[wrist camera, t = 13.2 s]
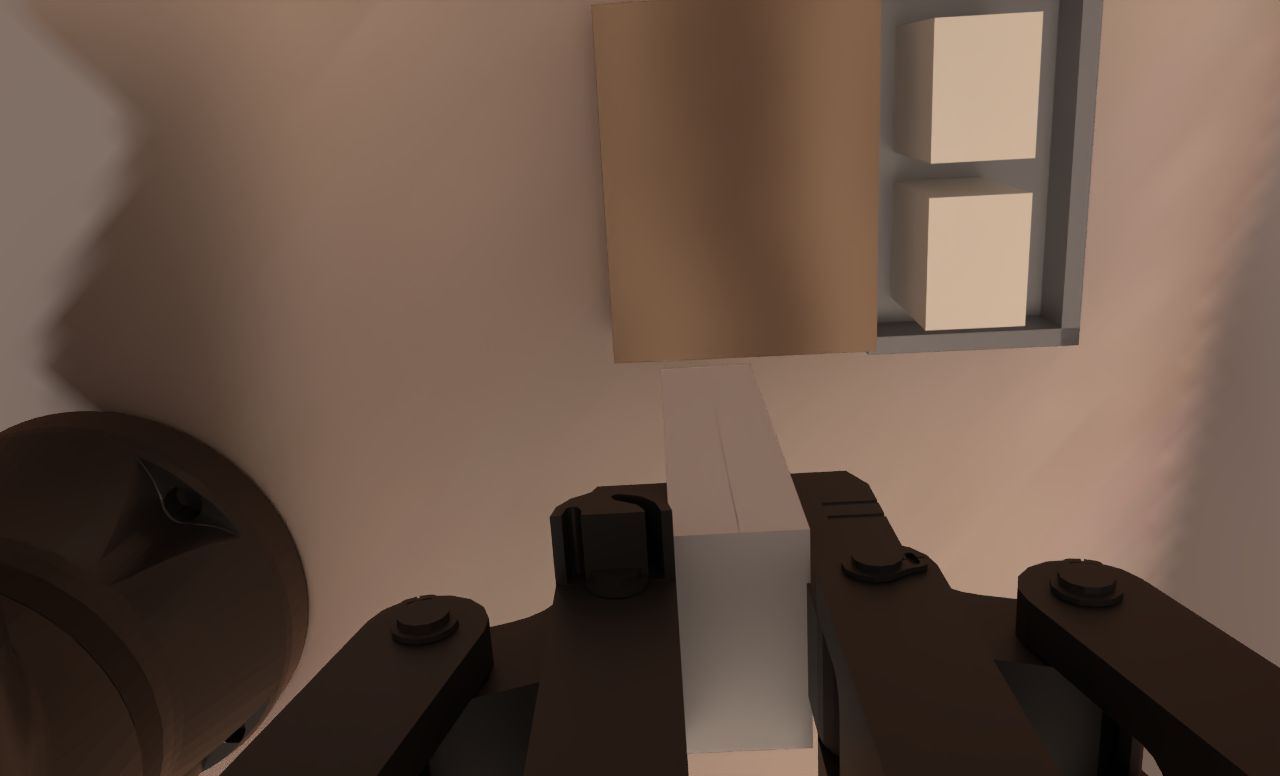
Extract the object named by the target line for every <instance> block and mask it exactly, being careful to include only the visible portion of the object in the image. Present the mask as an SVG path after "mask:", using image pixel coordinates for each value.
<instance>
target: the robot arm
mask: <svg viewBox="0 0 1280 776" xmlns="http://www.w3.org/2000/svg"><path fill="white" fill-rule="evenodd" d="M661 373H662V394H663V414H664V435H665V455H666V476H667V483H658V484H639V485H620V486H601V487H597V488H596V489H594V490H593V491H592V492H591V493H588V494H585V495H581V496H578V497H575V498H571V499H569V500H568V501H566V502H564V503H563V504H561V505H559V506H557V507H556V508H555V510H554V511H553V513H552V514H551V516H550V524H551V535H552V546H553V557H554V567H555V578H556V590H555V595H554V601H553V605H552V606H550V607H549V608H547V609H546V610H544V611H542V612H540V613H537V614H535V615H533V616H531V617H528V618H525V619H521V620H518V621H514V622H511V623H506V624H502V625H497V626H493V627H490V625H489V618H488V615H487V613H486V611H485V609H484V607H483V606H481V605H479V604H478V603H476V602H474V601H473V600H471V599H467V598H461V597H456V596H436V595H425V596H420V598H417V597H414V598H410V599H406V600H404V601H402V602H401V603H399V604H397V605H394V606H392V607H389V608H387V609H385V610H383V611H381V612H380V613H378V614H377V615H376V616H374V617H373V618H372V619H370V620H369V621H368V622H367V623H366V624H365V625H364V626H363V627H362V628H361V629H360V630H359V631H358V632H357V633H356V634H355V635H354V636H353V637H352V638H351V639H350V640H349V641H348V642H347V643H346V644H345V645H344V646H343V648H342V649H341V650H340V651H339V652H338V653H337V654H336V655H335V656H334V657H333V658H332V659H331V660H330V661H329V662H328V663H327V664H326V665H325V666H324V667H323V668H322V669H321V670H320V671H319V672H318V673H317V675H316V676H315V677H314V678H313V679H312V680H311V681H310V682H309V683H308V684H307V685H306V686H305V687H304V688H303V689H302V690H301V691H300V692H299V693H298V694H297V695H296V696H295V697H294V698H293V699H292V701H291V702H290V703H289V704H288V705H287V706H286V707H285V708H284V709H283V710H282V711H281V712H280V713H279V714H278V715H277V716H276V717H275V718H274V719H273V720H272V721H271V722H270V723H269V724H268V725H267V727H266V728H265V729H264V730H263V731H262V732H261V733H260V734H259V735H258V736H257V737H256V738H255V739H254V740H253V741H252V742H251V743H250V744H249V745H248V746H247V747H246V748H245V749H244V750H243V751H242V752H241V754H240V755H239V756H238V757H237V758H236V759H235V760H234V761H233V762H232V763H231V764H230V765H229V766H228V767H227V768H226V769H225V770H224V771H223V772H222V773H221V774H220V775H219V776H688V760H687V754H691V753H712V752H733V751H755V750H776V749H798V748H813V728H812V713H813V717H814V721H815V724H816V728H817V732H818V776H1148V775H1147V774H1146V773H1145V772H1143V771H1142V759H1143V749H1144V747H1145V748H1146V749H1147V750H1148V752H1149V753H1150V754H1151V755H1152V756H1153V757H1154V759H1155V761H1156V763H1157V765H1158V766H1159V769H1160V770H1161V772H1162V775H1163V776H1280V668H1279V667H1278V666H1276V665H1275V664H1273V663H1271V662H1270V661H1268V660H1267V659H1265V658H1264V657H1262V656H1261V655H1259V654H1257V653H1256V652H1254V651H1253V650H1251V649H1250V648H1248V647H1247V646H1245V645H1244V644H1242V643H1240V642H1239V641H1237V640H1236V639H1234V638H1233V637H1231V636H1229V635H1228V634H1226V633H1225V632H1223V631H1222V630H1220V629H1219V628H1217V627H1216V626H1214V625H1213V624H1211V623H1209V622H1208V621H1206V620H1205V619H1203V618H1202V617H1200V616H1199V615H1196V614H1195V613H1194V612H1192V611H1191V610H1189V609H1188V608H1186V607H1185V606H1183V605H1181V604H1180V603H1178V602H1177V601H1175V600H1174V599H1172V598H1171V597H1169V596H1168V595H1166V594H1165V593H1163V592H1161V591H1160V590H1158V589H1157V588H1155V587H1154V586H1152V585H1151V584H1149V583H1148V582H1146V581H1144V580H1143V579H1141V578H1139V577H1137V576H1135V575H1133V574H1131V573H1129V572H1126V571H1124V570H1122V569H1119V568H1115V567H1111V566H1108V565H1104V564H1102V563H1101V562H1098V561H1093V560H1086V559H1084V561H1081V559H1065V560H1062V561H1048V562H1044V563H1041V564H1038V565H1034V566H1031V567H1028V568H1027V569H1026V570H1025V571H1024V572H1023V573H1022V574H1020V575H1019V576H1018V592H1017V599H1011V598H1002V597H993V596H984V595H977V594H971V593H966V592H961V591H957V590H954V589H951V587H950V586H949V584H948V582H947V581H946V579H945V577H944V575H943V574H942V572H941V570H940V569H939V567H938V565H937V564H936V563H935V562H933V561H932V560H931V559H930V558H929V557H928V556H927V555H925V554H923V553H921V552H919V551H916V550H914V549H912V548H910V547H905V546H902V545H901V543H900V541H899V540H898V538H897V536H896V534H895V532H894V530H893V529H892V527H891V525H890V523H889V521H888V519H887V518H886V516H885V517H884V512H883V510H882V508H881V507H880V505H879V503H877V499H876V497H875V496H874V494H873V492H872V490H871V488H870V486H869V485H868V484H867V483H866V482H864V481H862V480H861V479H859V478H857V477H856V476H854V475H852V474H850V473H849V472H847V471H832V472H813V473H795V474H790V472H789V470H788V467H787V464H786V461H785V459H784V456H783V453H782V450H781V448H780V445H779V442H778V439H777V436H776V434H775V431H774V428H773V425H772V423H771V420H770V417H769V414H768V412H767V409H766V406H765V403H764V400H763V398H762V395H761V392H760V389H759V387H758V384H757V381H756V378H755V376H754V373H753V370H752V367H751V365H750V364H739V365H721V366H703V367H685V368H667V369H661ZM307 624H308V597H307V589H306V583H305V578H304V573H303V569H302V566H301V562H300V559H299V556H298V554H297V551H296V548H295V546H294V544H293V541H292V539H291V537H290V535H289V533H288V531H287V529H286V527H285V526H284V524H283V522H282V520H281V519H280V517H279V516H278V514H277V513H276V511H275V510H274V508H273V507H272V506H271V504H270V503H269V502H268V500H267V499H266V498H265V496H264V495H263V494H262V493H261V492H260V491H259V489H258V488H257V487H256V486H255V485H254V484H253V483H252V482H251V481H250V480H249V479H248V478H247V477H246V476H245V475H244V474H243V473H242V472H241V471H239V470H238V469H237V468H236V467H235V466H234V465H233V464H231V463H230V462H229V461H227V460H226V459H225V458H223V457H222V456H221V455H219V454H218V453H216V452H215V451H213V450H212V449H210V448H209V447H207V446H206V445H204V444H202V443H200V442H199V441H197V440H195V439H193V438H191V437H189V436H187V435H185V434H183V433H181V432H179V431H177V430H174V429H172V428H169V427H167V426H164V425H161V424H158V423H156V422H153V421H149V420H145V419H142V418H138V417H133V416H128V415H124V414H117V413H109V412H95V411H77V412H65V413H58V414H52V415H47V416H42V417H38V418H34V419H31V420H28V421H25V422H22V423H20V424H17V425H15V426H13V427H10V428H8V429H6V430H4V431H2V432H0V776H198V775H199V774H200V773H201V772H203V771H204V770H206V769H208V768H210V767H212V766H213V765H215V764H216V763H218V762H219V761H221V760H222V759H224V758H225V757H227V756H228V755H229V754H231V753H232V752H233V751H235V750H236V749H237V748H238V747H239V746H241V745H242V744H243V743H244V742H245V741H246V740H247V739H248V738H249V737H250V736H251V735H252V734H253V733H254V732H255V730H256V729H257V728H258V727H259V726H260V725H261V724H262V722H263V721H264V720H265V718H266V717H267V716H268V714H269V712H270V711H271V709H272V708H273V706H274V705H275V703H276V701H277V700H278V698H279V697H280V695H281V693H282V692H283V690H284V689H285V687H286V685H287V684H288V682H289V681H290V679H291V677H292V675H293V673H294V671H295V669H296V667H297V664H298V662H299V659H300V656H301V653H302V650H303V647H304V642H305V638H306V631H307Z"/></svg>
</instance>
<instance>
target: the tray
mask: <svg viewBox="0 0 1280 776" xmlns="http://www.w3.org/2000/svg"><path fill="white" fill-rule="evenodd" d="M1041 11H1043V27H1042V45H1041V63H1040V81H1039V99H1038V118H1037V136H1036V154H1035V158H1027V159H1009V160H990V161H972V162H953V163H935V164H930V163H927V162H924V161H921V160H918V159H914V158H911V157H908V156H905V155H902V154H899V153H896V152H894V108H895V45H896V26H900V25H905V24H909V23H914V22H918V21H923V20H927V19H932V18H940V17H957V16H974V15H990V14H1007V13H1024V12H1041ZM1102 12H1103V0H881V60H880V136H879V212H878V288H877V351H868V352H867V354H868V355H875V354H896V353H918V352H940V351H961V350H983V349H1005V348H1026V347H1048V346H1069V345H1078V344H1079V331H1080V317H1081V303H1082V289H1083V275H1084V261H1085V248H1086V234H1087V220H1088V206H1089V192H1090V178H1091V165H1092V151H1093V137H1094V123H1095V109H1096V95H1097V82H1098V68H1099V54H1100V40H1101V26H1102ZM973 177H983V178H987V179H990V180H993V181H996V182H999V183H1003V184H1006V185H1009V186H1012V187H1015V188H1019V189H1022V190H1025V191H1028V192H1031V193H1033V196H1032V214H1031V231H1030V249H1029V266H1028V284H1027V301H1026V319H1025V326H1014V327H993V328H971V329H949V330H928V331H925V330H924V329H923V328H922V327H921V326H920V325H919V324H918V323H917V322H916V321H915V320H914V319H913V318H912V317H911V316H910V315H909V314H908V313H907V312H906V311H905V310H904V309H903V308H902V307H901V306H900V305H899V304H897V303H896V302H895V301H894V300H893V299H892V298H891V253H892V197H893V182H896V181H915V180H934V179H954V178H973Z"/></svg>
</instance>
